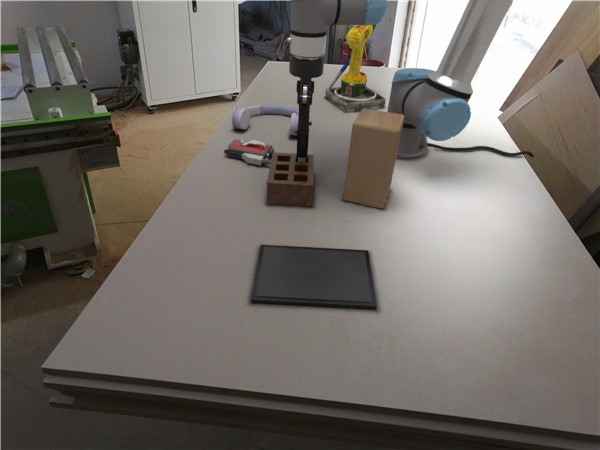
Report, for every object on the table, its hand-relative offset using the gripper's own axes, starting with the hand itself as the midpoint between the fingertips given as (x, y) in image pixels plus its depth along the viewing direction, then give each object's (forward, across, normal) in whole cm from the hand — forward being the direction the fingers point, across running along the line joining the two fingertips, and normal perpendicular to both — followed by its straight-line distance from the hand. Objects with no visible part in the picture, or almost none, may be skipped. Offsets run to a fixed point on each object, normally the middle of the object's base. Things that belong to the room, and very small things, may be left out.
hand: (302, 153), depth 101 cm
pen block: (+8, +5, -2) cm, 9 cm away
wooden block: (+8, +6, +17) cm, 19 cm away
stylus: (+8, 0, 0) cm, 8 cm away
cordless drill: (+8, -60, +19) cm, 64 cm away
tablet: (+8, +36, +4) cm, 37 cm away
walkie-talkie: (+8, -10, -12) cm, 18 cm away
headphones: (+8, -34, -10) cm, 37 cm away
